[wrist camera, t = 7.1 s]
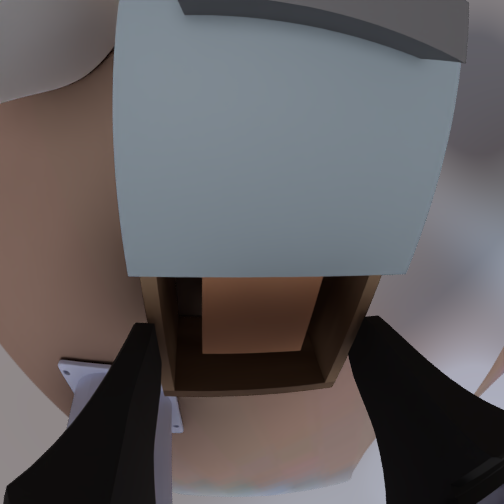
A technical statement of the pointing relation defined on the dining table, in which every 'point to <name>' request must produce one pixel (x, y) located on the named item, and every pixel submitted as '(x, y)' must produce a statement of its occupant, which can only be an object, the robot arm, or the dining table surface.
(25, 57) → the can
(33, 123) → the dining table surface
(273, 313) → the block
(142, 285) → the brown rectangular box
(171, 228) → the cover
